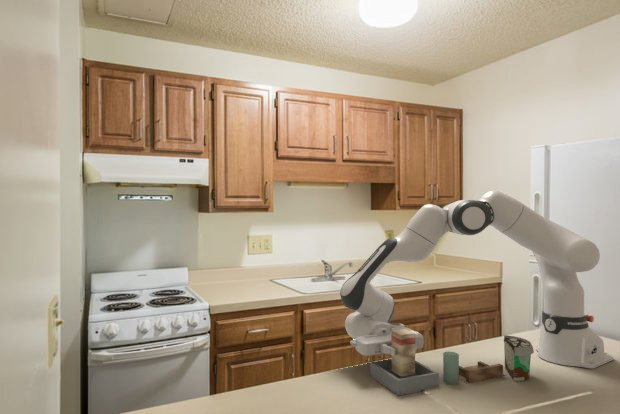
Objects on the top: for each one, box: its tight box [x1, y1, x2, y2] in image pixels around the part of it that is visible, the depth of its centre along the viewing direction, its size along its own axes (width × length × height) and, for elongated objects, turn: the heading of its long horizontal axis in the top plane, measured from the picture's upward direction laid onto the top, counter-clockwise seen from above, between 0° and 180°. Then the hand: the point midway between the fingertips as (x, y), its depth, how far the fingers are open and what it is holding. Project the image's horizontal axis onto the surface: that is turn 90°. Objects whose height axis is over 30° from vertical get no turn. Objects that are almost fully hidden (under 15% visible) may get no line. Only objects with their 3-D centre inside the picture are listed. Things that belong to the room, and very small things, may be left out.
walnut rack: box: [459, 360, 507, 384], centre depth 120 cm, size 14×9×4 cm, turn 112°
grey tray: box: [370, 358, 440, 397], centre depth 116 cm, size 13×14×4 cm
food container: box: [503, 335, 535, 383], centre depth 119 cm, size 12×6×10 cm, turn 168°
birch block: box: [391, 329, 416, 376], centre depth 116 cm, size 5×5×11 cm
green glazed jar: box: [442, 351, 460, 386], centre depth 115 cm, size 4×4×8 cm
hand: (405, 351), depth 115 cm, fingers closed on birch block, 4 cm apart
